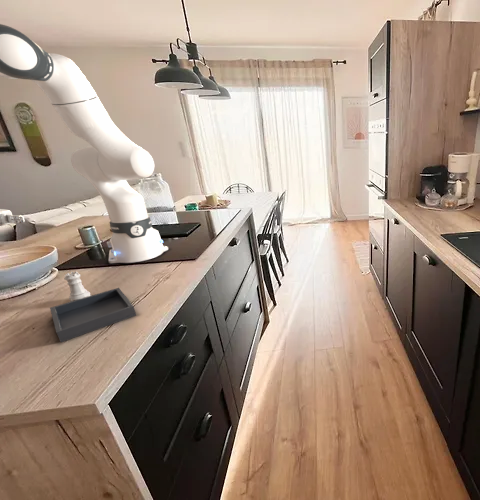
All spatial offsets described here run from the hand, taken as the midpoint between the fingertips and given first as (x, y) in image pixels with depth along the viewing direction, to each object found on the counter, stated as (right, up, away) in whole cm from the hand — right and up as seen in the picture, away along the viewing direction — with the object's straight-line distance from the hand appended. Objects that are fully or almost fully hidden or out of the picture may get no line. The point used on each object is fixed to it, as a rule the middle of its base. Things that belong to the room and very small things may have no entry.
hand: (7, 222), depth 68 cm
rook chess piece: (+9, -20, +10) cm, 24 cm away
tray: (+19, -23, +3) cm, 30 cm away
